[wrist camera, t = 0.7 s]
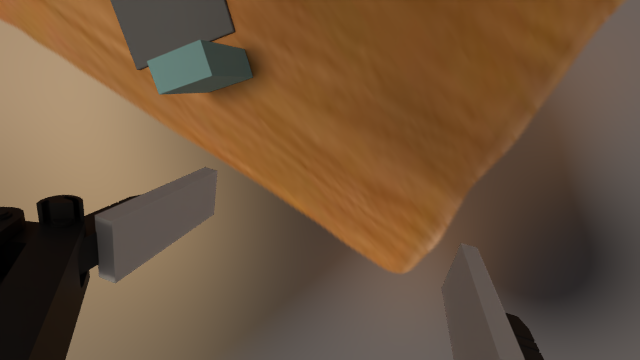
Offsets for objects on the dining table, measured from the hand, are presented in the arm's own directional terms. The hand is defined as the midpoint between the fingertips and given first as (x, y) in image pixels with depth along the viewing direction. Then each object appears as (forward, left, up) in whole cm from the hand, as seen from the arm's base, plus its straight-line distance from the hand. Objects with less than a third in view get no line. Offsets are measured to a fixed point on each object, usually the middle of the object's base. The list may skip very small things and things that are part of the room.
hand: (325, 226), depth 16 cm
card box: (-14, -16, -24) cm, 32 cm away
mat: (-25, -21, -24) cm, 40 cm away
